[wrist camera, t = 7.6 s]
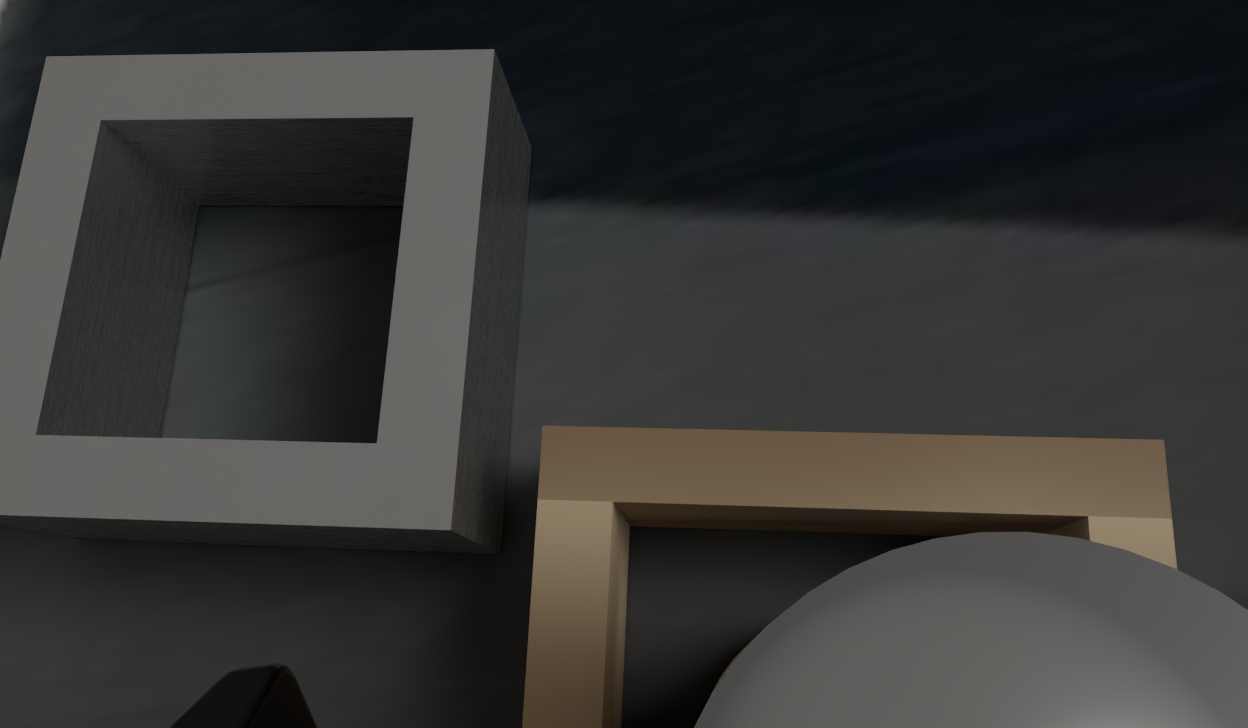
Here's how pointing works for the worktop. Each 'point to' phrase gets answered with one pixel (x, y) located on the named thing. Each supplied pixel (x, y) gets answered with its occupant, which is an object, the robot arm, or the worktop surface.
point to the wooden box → (793, 517)
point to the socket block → (156, 278)
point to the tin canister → (995, 644)
